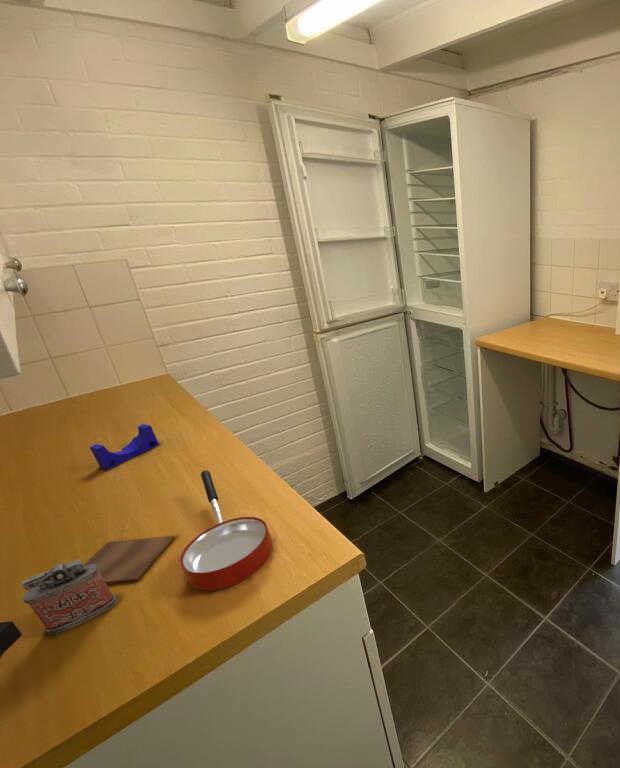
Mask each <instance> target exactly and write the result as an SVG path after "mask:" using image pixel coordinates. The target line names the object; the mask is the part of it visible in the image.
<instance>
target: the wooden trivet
mask: <svg viewBox="0 0 620 768" xmlns="http://www.w3.org/2000/svg"><path fill="white" fill-rule="evenodd" d="M175 538H176V537H175V535H168V536H167V535H166V536H159V537H158V536H157V537H148V538H137V539H128V540H127V539H126V540H119V541H116V540H115V541H108V542H106V543H105V544H104V545H103V546H102V547H101V548H100V549H99V550H98V551H97V552H96V553H95V554H94V555H93V556H92V557H90V559H88V561H87V562H85V563H84V564H83V567H84V566H87V565H90V564H96V565H97V566H98V568H99V573H100V574H101V576H102V578H103V579H104V581H105V583H106V584H107V585H111V584H121V583H129V582H138V581H139V580H140V579H141V578H142V577H143V576H144V575H145V574H146V573H147V571H148V570H149V569H150V567H152V566H153V564H154V563H155V562H156V561H157V559H159V558H160V557H161V555H162V554H163V553H164V552H165V550H166V549H167V548H168V547H169V546H170V545H171V544H172V542H173V541H174V540H175Z"/></svg>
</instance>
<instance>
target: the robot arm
mask: <svg viewBox="0 0 620 768" xmlns="http://www.w3.org/2000/svg"><path fill="white" fill-rule="evenodd" d="M22 636H23V633H22V632H21V631H20V629H19V628H18V627H17V625H16V624H15V622H14V621H12V620H11V621H9V620H8V621H2V622H0V659H2V657H3V654H5V652H7V650H9V649H10V648H11V647H12V646H13V645H14V644H15V643H16V642H17V641H18V640H19V639H20V638H21V637H22Z"/></svg>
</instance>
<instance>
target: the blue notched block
mask: <svg viewBox="0 0 620 768" xmlns="http://www.w3.org/2000/svg"><path fill="white" fill-rule="evenodd" d="M137 430H138V435H136V436H134V437H133V438H132V440H131V441H130V442H129V443H128V444H127V445H126V446H124V447H122V448H121V451H116V452H115V451H114V452H111V451H109V450H108V449H107V448H106V447H105V445H102V444H98V443H96V444H93V445H90V446H89V449H90V451H91V453H92V455H93V456H94V458H95V461H96V462H97V464H98V466H99V468H101V469H104V470H107V471H108V470H110V469H112V468H115V467H116V466H118V465H120V464H122V463H125V462H126V461H128V460H131V459H133V458H135V457H138V456H139V455H141V454H143V453H145V452H147V451H149V450H151V449H154V448H155V447H158V446H159V445H160V442H159V441H158V439H157V436H156V434H155V432H154V430H153V427H152V426H151V425H150V424H146V423H143V424H140V425H138V426H137Z"/></svg>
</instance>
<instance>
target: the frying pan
mask: <svg viewBox="0 0 620 768" xmlns="http://www.w3.org/2000/svg"><path fill="white" fill-rule="evenodd" d="M200 477H201V480H202V484H203V488H204V490H205V493H206V497H207V501H208V503H209V504H210V505H211V508H212V511H213V515H214V519H215V521H216V524H215V525H213V526H211V527H209V528H207V529H206V530H204V531H202V532H201V533H199V534H198V535H197V536H195V537H194V538H193V539H192V540H191V541H190V542H189V543H188V544H187V545H186V546H185V548H184V549H183V551H182V552H181V554H180V557H179V565H180V567H181V569H182V570H183V573H184V575H185V577H186V579H187V582H188V583H189V584H190V585H191V586H192V587H194V589H197V590H201V591H216V590H221V589H225V588H228V587H231V586H234V585H236V584H238V583H241V582H242V581H244V580H246V579H247V578H250V577H251V576H253V574H254V573H257V571H259V569H260V568H261V567H263V565H265V564H266V562H267V561H268V560H269V558H270V556H271V554H272V551H273V547H274V544H273V539H272V537H271V534H270V531H269V528H268V526H267V523H266V521H264V519H261V518H259V517H256V516H241V517H235V518H231V519H228V520H224V516H223V512H222V511H221V507H220V504H219V496H218V493H217V491H216V487H215V484H214V481H213V478H212V475H211V472H210V470H207V469H206V470H203V471H201V472H200Z"/></svg>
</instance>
